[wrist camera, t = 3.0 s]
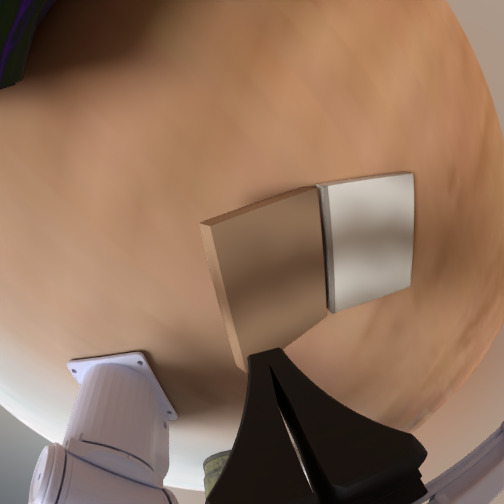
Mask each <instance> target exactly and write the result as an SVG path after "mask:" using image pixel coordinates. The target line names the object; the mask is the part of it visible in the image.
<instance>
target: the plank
mask: <svg viewBox="0 0 504 504" xmlns="http://www.w3.org/2000/svg"><path fill="white" fill-rule="evenodd" d="M199 227H200V232H201V236H202V240H203V244H204V248H205V252H206V256H207V260H208V264H209V268H210V272H211V276H212V280H213V284H214V288H215V291H216V295H217V299H218V303H219V306H220V310H221V314H222V317H223V321H224V325H225V328H226V332H227V335H228V339H229V342H230V346H231V349H232V353H233V356H234V359H235V363H236V365H237V366H238V367H239V368H240V369H242V370H243V371H244V372H245V373H247V374H248V360H247V357H248V356H249V355H251V354H255V353H259V352H263V351H267V350H270V349H274V348H278V347H279V348H281V349H284V348H285V347H286V346H288V345H289V344H290V343H292V342H293V341H295V340H296V339H297V338H299V337H300V336H301V335H303V334H304V333H305V332H307V331H308V330H309V329H310V328H312V327H313V326H314V325H316V324H317V323H318V322H319V321H321V320H322V319H323V318H325V317H326V316H327V313H326V290H325V272H324V257H323V244H322V232H321V221H320V211H319V202H318V193H317V188H310V187H302V188H299V189H296V190H292V191H289V192H286V193H283V194H280V195H277V196H274V197H271V198H268V199H265V200H262V201H260V202H257V203H254V204H251V205H248V206H245V207H242V208H239V209H236V210H234V211H231V212H228V213H225V214H222V215H220V216H217V217H214V218H211V219H209V220H206V221H203V222H201V223H199Z"/></svg>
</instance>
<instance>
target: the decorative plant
mask: <svg viewBox="0 0 504 504" xmlns="http://www.w3.org/2000/svg"><path fill="white" fill-rule="evenodd" d="M55 1H56V0H0V89H3V88H6V87H9V86H13V85H15V82H18V81H21V80H22V79H23V77H24V72H25V67H26V63H27V59H28V55H29V51H30V47H31V43H32V39H33V36H34V33H35V29H36V28H37V26H38V25H39V23H40V22H41V20H42V19H43V17H44V16H45V15H46V13H47V12H48V10H49V9H50V8H51V6H52V5H53V4H54V3H55Z"/></svg>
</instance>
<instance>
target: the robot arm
mask: <svg viewBox="0 0 504 504" xmlns="http://www.w3.org/2000/svg"><path fill="white" fill-rule="evenodd" d="M247 360H248V385H247V394H246V400H245V405H244V411H243V415H242V419H241V423H240V427H239V430H238V433H237V437H236V439H235V442H234V445H233V448H232V450H231V453H230V455H229V458H228V460H227V462H226V464H225V466H224V468H223V470H222V472H221V474H220V476H219V478H218V480H217V482H216V483H215V485H214V487H213V488H212V490H211V492H210V493H209V495H208V496H207V498H206V502H205V504H422V503H423V502H425V501H427V500H428V499H430V500H429V503H428V504H489V503H490V502H492V501H493V500H494V498H496V497H497V496H498V494H500V493H501V492H502V490H503V489H504V421H503V423H502V424H501V426H500V427H499V428H498V429H497V430H496V431H495V432H494V433H493V434H492V435H490V436H489V437H488V438H487V439H486V440H485V441H484V442H483V443H481V444H480V445H479V446H478V447H477V448H476V449H474V450H473V451H472V452H471V453H469V454H468V455H467V456H465V457H464V458H463V459H462V460H460V461H459V462H458V463H456V464H455V465H454V466H452V467H451V468H449V469H448V470H446V471H445V472H444V473H442V474H441V475H439V476H438V477H436V478H435V479H433V480H432V481H430V482H428V483H427V484H425V485H424V484H423V482H422V481H421V479H420V478H421V477H422V475H421V473H420V471H419V470H418V468H419V467H420V466H421V464H422V463H423V462H424V460H425V459H426V457H427V451H426V450H425V448H424V447H423V445H422V444H421V443H420V442H419V441H418V440H417V439H416V438H415V437H414V436H413V435H412V434H410V433H406V432H403V431H399V430H396V429H393V428H390V427H387V426H385V425H382V424H380V423H377V422H375V421H373V420H371V419H369V418H367V417H365V416H362V415H360V414H358V413H356V412H355V411H353V410H351V409H349V408H348V407H346V406H344V405H343V404H341V403H340V402H338V401H337V400H335V399H334V398H332V397H331V396H329V395H328V394H327V393H325V392H324V391H323V390H322V389H320V388H319V387H318V386H317V385H315V384H314V383H313V382H312V381H311V380H310V379H309V378H308V377H307V376H305V375H304V374H303V373H302V372H301V371H300V370H299V369H298V368H297V367H296V366H295V364H294V363H293V362H292V361H291V360H290V359H289V358H288V356H287V355H286V354H285V353H284V351H283V350H282V349H281V348H279V347H278V348H274V349H270V350H267V351H263V352H259V353H255V354H251V355H249V356H248V357H247ZM139 361H142V362H139ZM67 367H68V368H69V370H70V372H71V373H72V374H73V376H74V377H75V379H76V380H77V382H78V383H79V385H80V388H79V391H78V394H77V397H76V400H75V403H74V407H73V410H72V413H71V416H70V420H69V423H68V426H67V430H66V434H65V437H64V441H63V445H60V444H59V443H56V442H55V443H53V444H51V445H47V446H45V448H44V449H43V451H42V453H41V455H40V457H39V460H38V462H37V464H36V467H35V470H34V474H33V478H32V482H31V486H30V493H29V502H28V504H179V503H178V501H177V499H176V497H175V496H174V494H173V493H172V492H171V491H170V490H168V489H167V488H164V487H163V479H164V478H165V476H166V474H167V472H168V469H169V421H175V420H177V419H178V415H177V413H176V412H175V410H174V408H173V407H172V405H171V403H170V402H169V400H168V398H167V397H166V395H165V393H164V391H163V390H162V388H161V386H160V384H159V383H158V381H157V379H156V377H155V375H154V373H153V372H152V370H151V368H150V366H149V364H148V362H147V360H146V358H145V356H144V355H143V354H142V353H141V352H132V353H125V354H119V355H112V356H104V357H97V358H89V359H80V360H71V361H68V363H67ZM74 369H75V370H74ZM278 406H279V407H278ZM279 409H280V410H279ZM280 411H281V413H282V415H283V417H284V420H285V422H286V424H287V426H288V428H289V431H290V433H291V435H292V437H293V439H294V441H295V443H296V446H297V448H298V451H299V453H300V456H301V459H302V462H303V465H304V468H305V471H306V473H307V476H308V479H309V482H310V485H311V487H310V485H309V483H308V481H307V478H306V476H305V474H304V471H303V469H302V467H301V464H300V462H299V459H298V457H297V455H296V452H295V450H294V447H293V445H292V442H291V440H290V437H289V434H288V432H287V429H286V427H285V424H284V421H283V418H282V416H281V413H280ZM311 488H312V490H311ZM312 491H313V492H312Z"/></svg>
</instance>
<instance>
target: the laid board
mask: <svg viewBox="0 0 504 504" xmlns="http://www.w3.org/2000/svg"><path fill="white" fill-rule="evenodd" d="M316 187H317V193H318V202H319V211H320V221H321V232H322V244H323V257H324V272H325V290H326V307H327V308H328V309H329V311H330V312H331V313H332V314H333V313H336V312H339V311H342V310H345V309H348V308H351V307H354V306H357V305H360V304H363V303H366V302H369V301H372V300H375V299H378V298H380V297H383V296H386V295H389V294H392V293H394V292H397V291H400V290H402V289H405V288H408V287H410V280H411V269H412V256H413V238H414V177H413V173H408V172H396V173H388V174H381V175H373V176H366V177H359V178H352V179H345V180H339V181H333V182H326V183H320V184H316Z"/></svg>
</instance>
